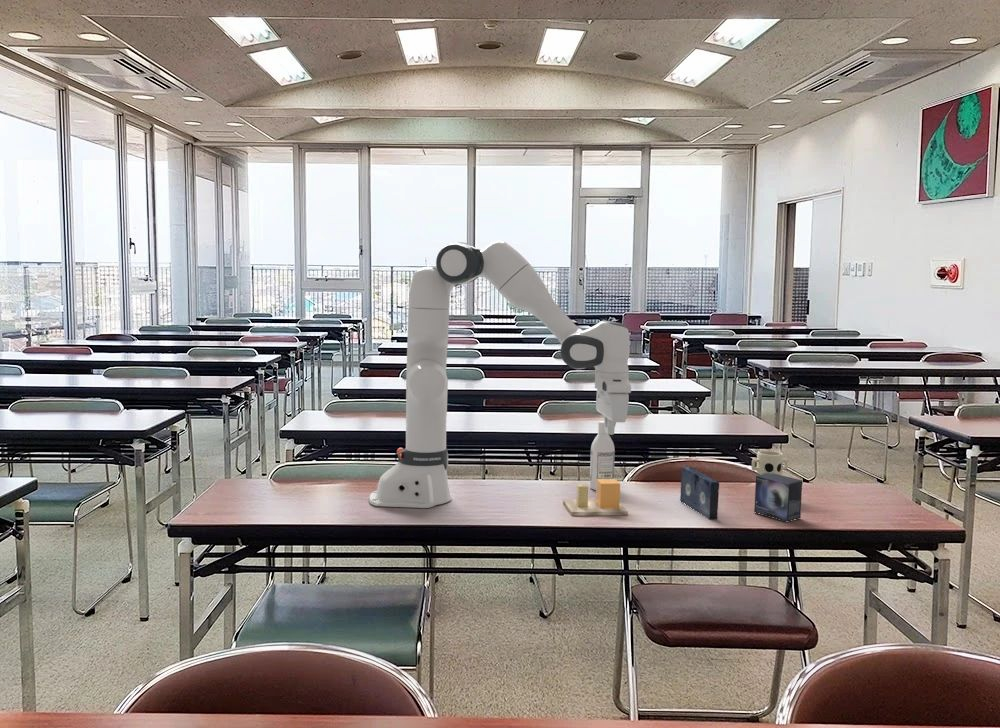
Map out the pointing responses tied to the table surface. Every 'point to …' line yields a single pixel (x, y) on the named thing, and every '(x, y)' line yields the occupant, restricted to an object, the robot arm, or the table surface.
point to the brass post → (582, 495)
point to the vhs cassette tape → (699, 492)
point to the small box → (778, 496)
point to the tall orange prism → (608, 493)
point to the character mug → (769, 462)
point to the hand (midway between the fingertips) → (609, 433)
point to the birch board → (592, 509)
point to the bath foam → (601, 457)
